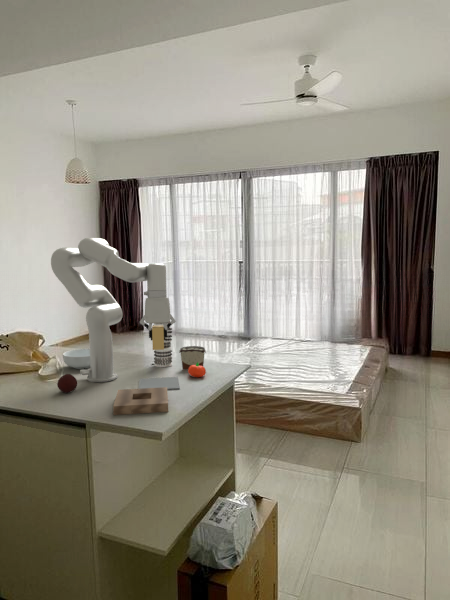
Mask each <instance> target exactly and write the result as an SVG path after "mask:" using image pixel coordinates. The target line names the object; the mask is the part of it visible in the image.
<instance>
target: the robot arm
mask: <svg viewBox="0 0 450 600" xmlns="http://www.w3.org/2000/svg"><path fill="white" fill-rule="evenodd" d="M93 263H97V264H99V265H101V266H102V267H104V268H106V269H107V271H108V272H109V273H110V274H112V275H113V276H115V277H116V278H119V279H121V280H123V281H124V282H128V283H140V282H146V287H147V290H146V291H144V292H143V296H146V298H145V301H144V314H143V316H142V318H141V319H140V321H139V324H140V325H142V326H143V327H145V328H146V329H147V331H148V338H149V339H150V341H152V326H153V324H154V323H163V324H164V340H165V337H167V329H168V328H169V327H171V326H172V325H174V324H175V323H176V322H177V321H176V319H175V317H174V316H173V315H172V314H171V305H170V299H169V297H168V296H167V265H165V264H164V263H161V262H160V263H148V262H131V261H130V262H129V261H127V260H126V259H123V258H121V257H120V254H119V250H117V249H116V248H114V247H112V246H110V244H109V243H108V241H107V240H106V239H104V238H101V237H84V238H83V239H81V240H80V241H79V243H78V245H77V247H60V248H58V249H57V248H56V250H55V251H53V253H52V254H51V258H50V266H51V267H50V268H51V271H52V273H53V274H54V276H55V277H56V278H57V280H59V282H60V283H61V284H62V285H63V286H64V288H65V289H66V290H67V292H68V293H69V294H70V296H71V297H72V298H73V300H74V301H75V302H76V304H77V305H78V307H81V308H82V309H83V308H85V309H87V308H89V309H88V311H87V312H86V315H85V321H86V325H87V329H88V338H89V339H88V340H89V342H88V343H89V349H90V367H89V368H87V369H79V374H80V375H82V376H86V380H87V381H88V382H91V383H105V382H111V381H115V380H116V379H118V377H119V375H118V374H117V372H115V371H114V347H113V344H114V343H113V340H114V339H113V333H112V330H111V329H110V326H112V325H116V324H118V323H120V322H121V321H122V318H123V315H124V314H123V309H122V308H121V306H120V304H119V303H118V301H116V299H115V298H114V296H113V294H111V293H110V291H109V290H108V289H107V288H106V287H105V286H103V285H102V284H90V283H88V281H86V279H85V278H84V276H83V275H82V274H81V273H80V272H78V271H77V270H76V269H75V268H81V267H86V266H88V265H89V266H90V264H93ZM168 322H169V323H168ZM167 323H168V324H167Z"/></svg>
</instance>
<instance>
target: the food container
mask: <svg viewBox="0 0 450 600" xmlns="http://www.w3.org/2000/svg"><path fill="white" fill-rule="evenodd" d="M178 353H179V354H180V358H181V360H180V361H181V367H182V371H188V370H189V367H190V366H191V365H196V364H197V363H198V364H199V366H203V367H204V363H205V354H207V352H206V348H205V347H203V346H201V345H200V346H199V345H198V346H197V345H190V346H189V345H188V346H182V347H180V348H179V352H178Z"/></svg>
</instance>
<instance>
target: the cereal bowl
mask: <svg viewBox="0 0 450 600" xmlns="http://www.w3.org/2000/svg"><path fill="white" fill-rule="evenodd" d="M62 359H63V363H64V364H65V365H66V366H68V367H71V368H73V369H76V370H85V369H90V348H77V349H71V350H67V351H65V352H63V353H62ZM84 368H85V369H84Z"/></svg>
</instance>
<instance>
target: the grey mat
mask: <svg viewBox="0 0 450 600" xmlns="http://www.w3.org/2000/svg"><path fill="white" fill-rule="evenodd" d="M161 387H167V391H174V390H176V391H177V390H180V382H179V377H178V376H166V377H163V376H162V377H145V378H144V377H143V378H139V382H138V388H137V389H142V388H161Z"/></svg>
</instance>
